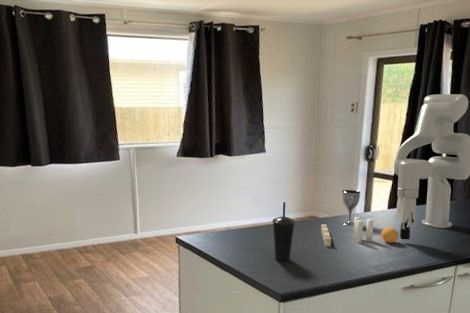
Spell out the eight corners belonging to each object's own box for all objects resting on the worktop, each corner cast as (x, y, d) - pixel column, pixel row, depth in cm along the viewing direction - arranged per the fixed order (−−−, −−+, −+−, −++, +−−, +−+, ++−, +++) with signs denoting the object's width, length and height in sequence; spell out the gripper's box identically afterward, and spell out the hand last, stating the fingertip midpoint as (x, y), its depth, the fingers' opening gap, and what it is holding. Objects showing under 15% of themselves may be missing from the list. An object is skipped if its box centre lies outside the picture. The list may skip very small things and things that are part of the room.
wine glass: (344, 220, 197) (345, 189, 195) (361, 223, 192) (362, 191, 191) (337, 223, 190) (339, 191, 189) (354, 227, 186) (356, 193, 184)
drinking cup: (296, 257, 146) (298, 201, 143) (289, 264, 139) (291, 205, 136) (275, 254, 149) (277, 199, 146) (268, 260, 142) (269, 203, 140)
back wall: (321, 231, 178) (321, 224, 178) (325, 231, 178) (326, 224, 178) (325, 246, 158) (325, 238, 158) (330, 246, 158) (331, 238, 158)
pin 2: (354, 241, 166) (355, 220, 165) (361, 241, 165) (362, 220, 164) (355, 242, 163) (356, 221, 162) (362, 243, 163) (363, 222, 162)
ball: (397, 231, 167) (387, 242, 168) (386, 222, 167) (376, 233, 167) (403, 236, 161) (392, 248, 162) (392, 227, 161) (381, 238, 161)
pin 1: (352, 237, 171) (354, 216, 170) (358, 237, 170) (360, 217, 169) (353, 239, 168) (354, 218, 167) (359, 239, 168) (361, 218, 167)
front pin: (365, 239, 168) (366, 219, 167) (371, 240, 167) (372, 219, 166) (366, 241, 165) (367, 220, 164) (372, 241, 165) (373, 220, 164)
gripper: (392, 188, 170) (389, 232, 172) (403, 196, 155) (400, 244, 157) (411, 189, 169) (408, 233, 171) (424, 197, 154) (420, 245, 156)
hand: (404, 238), depth 164 cm, fingers closed
